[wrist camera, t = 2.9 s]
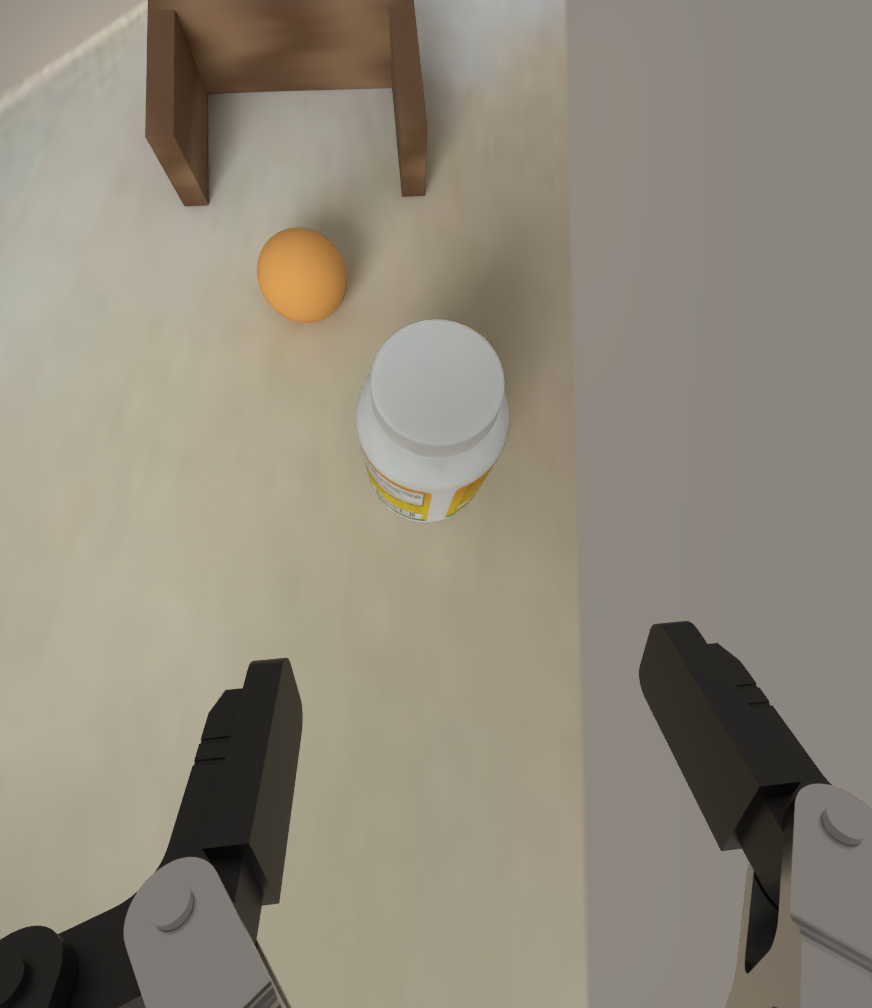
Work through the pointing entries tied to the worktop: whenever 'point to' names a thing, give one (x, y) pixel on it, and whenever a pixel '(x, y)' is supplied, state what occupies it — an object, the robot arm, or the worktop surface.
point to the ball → (301, 275)
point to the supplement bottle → (432, 418)
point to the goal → (275, 70)
